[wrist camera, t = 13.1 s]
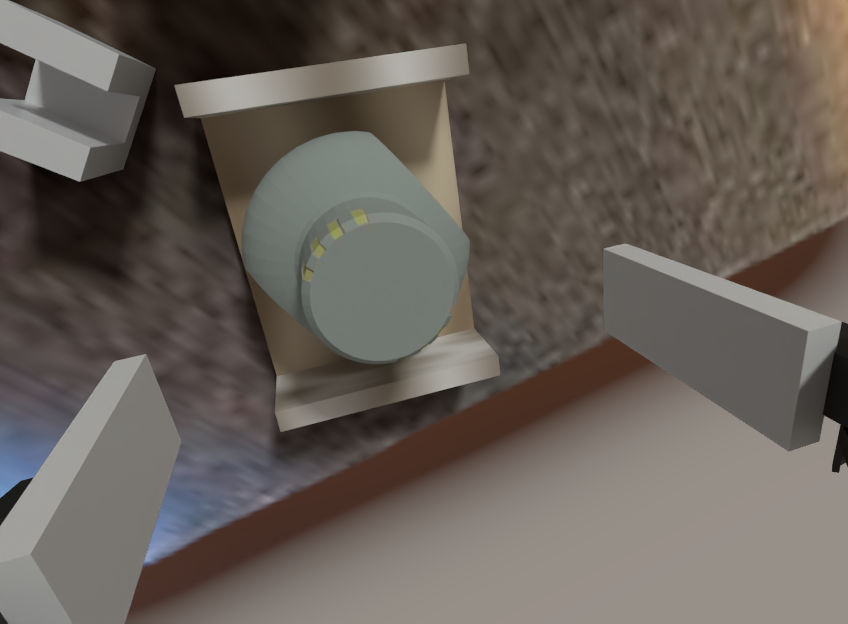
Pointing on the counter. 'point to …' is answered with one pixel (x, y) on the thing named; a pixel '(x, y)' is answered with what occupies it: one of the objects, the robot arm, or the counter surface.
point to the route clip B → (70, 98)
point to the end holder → (410, 142)
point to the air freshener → (355, 248)
